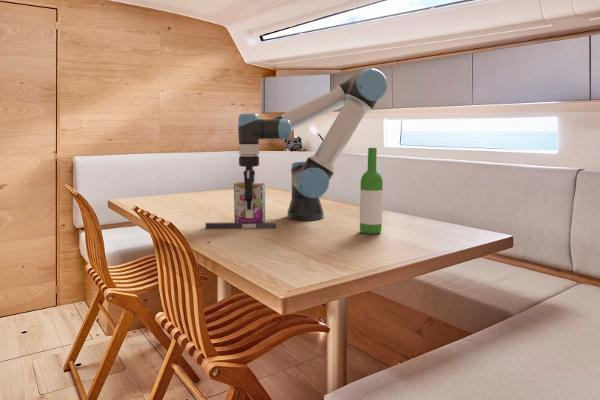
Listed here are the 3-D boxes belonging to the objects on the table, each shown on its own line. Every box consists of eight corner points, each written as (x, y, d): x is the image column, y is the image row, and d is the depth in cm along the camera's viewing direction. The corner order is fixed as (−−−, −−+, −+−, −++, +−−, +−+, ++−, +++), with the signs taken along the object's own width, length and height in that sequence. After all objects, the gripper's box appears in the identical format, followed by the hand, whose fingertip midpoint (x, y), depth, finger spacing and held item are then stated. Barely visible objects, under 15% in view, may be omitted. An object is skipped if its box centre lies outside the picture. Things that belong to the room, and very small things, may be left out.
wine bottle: (368, 235, 161) (369, 148, 156) (355, 231, 168) (356, 147, 163) (386, 233, 165) (388, 148, 160) (372, 229, 171) (374, 147, 167)
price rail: (276, 227, 175) (276, 222, 175) (276, 228, 173) (276, 223, 172) (206, 227, 174) (206, 222, 174) (205, 229, 172) (205, 223, 171)
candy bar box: (234, 226, 177) (233, 183, 174) (238, 223, 182) (237, 181, 179) (262, 227, 175) (262, 184, 172) (266, 224, 180) (265, 182, 177)
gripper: (241, 154, 184) (242, 211, 187) (236, 157, 164) (237, 221, 168) (260, 154, 184) (261, 211, 188) (257, 157, 165) (258, 220, 168)
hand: (250, 215), depth 178 cm, fingers open, 7 cm apart
